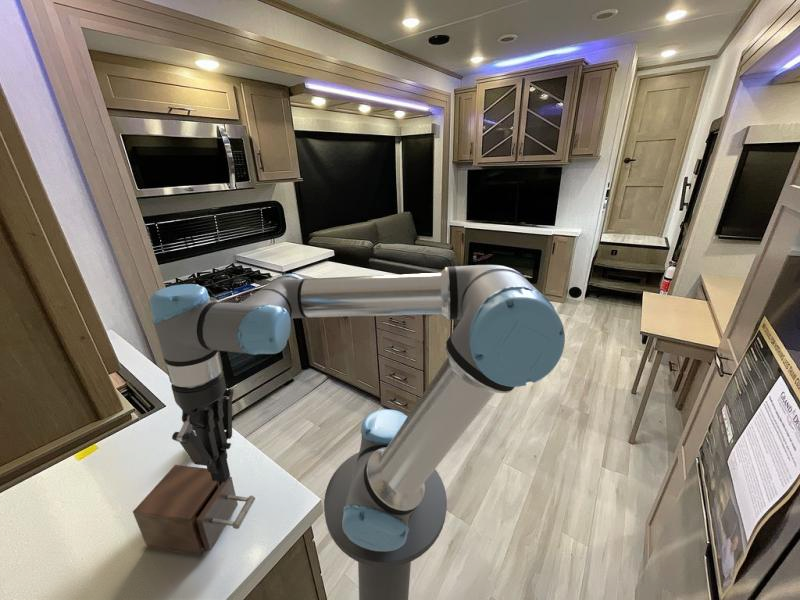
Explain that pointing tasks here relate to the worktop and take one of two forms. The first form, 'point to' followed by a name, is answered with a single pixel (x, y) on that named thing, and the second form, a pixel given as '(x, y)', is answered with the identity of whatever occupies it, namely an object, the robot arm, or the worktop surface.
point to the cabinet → (175, 510)
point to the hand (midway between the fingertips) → (221, 477)
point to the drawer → (220, 513)
